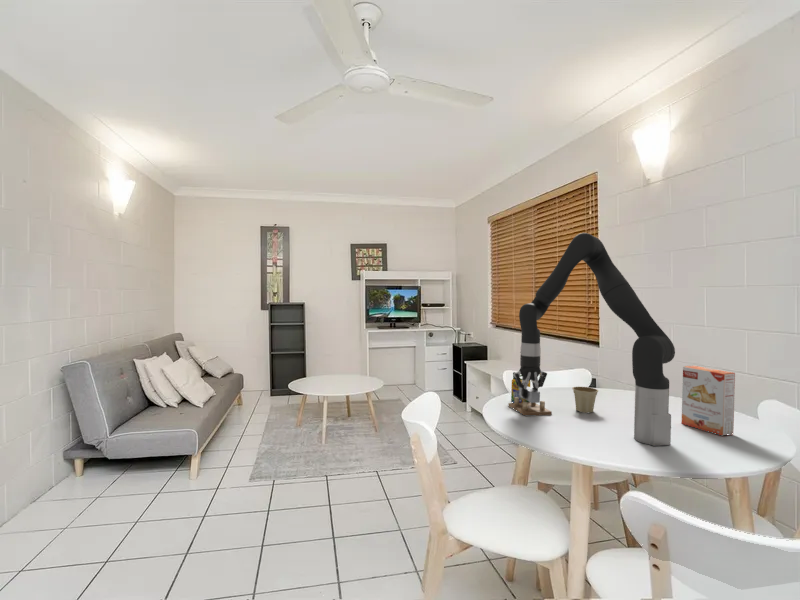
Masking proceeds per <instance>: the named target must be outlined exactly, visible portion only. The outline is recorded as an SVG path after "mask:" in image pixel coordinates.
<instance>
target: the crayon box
mask: <svg viewBox="0 0 800 600" xmlns="http://www.w3.org/2000/svg"><path fill="white" fill-rule="evenodd" d="M512 376H513V375H512ZM521 377H522V375H521V374H520V380H521V383H522V378H521ZM527 386H528V387H530V388H531V380H529V383H528V384H527ZM515 397H518V398H519V403H523V402H529V401H527V400H525V399H523V398H522V397H520V396H519V387H518V386H517V384H516V381H515V378H514V376H513V377H512V379H511V396H510V403H511V402H513V403H514V399H515Z"/></svg>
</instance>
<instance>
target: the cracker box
mask: <svg viewBox="0 0 800 600" xmlns="http://www.w3.org/2000/svg"><path fill="white" fill-rule="evenodd" d="M735 383H736V373H735V372H731V371H727V370H720V369H714V368H710V367H709V368H708V367H702V366H698V365H685V366H683V367H682V390H681V393H682V396H681V425H685V426H687V425H688V427H692V428H694V427H695V429H697V428H698V430H700V429H702V430H701V431H704V430H705V431H704V432H707V431H709V432H708V433H710V432H713V433H716V434H719V435H718V436H720V435H727V434H732V433H733V434H734V421H735V390H736V389H735V388H736V384H735ZM713 433H712V434H713ZM716 434H715V435H716ZM733 434H732V435H733ZM727 436H728V435H727Z"/></svg>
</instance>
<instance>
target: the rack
mask: <svg viewBox="0 0 800 600" xmlns="http://www.w3.org/2000/svg"><path fill="white" fill-rule="evenodd" d="M508 405H509V406H510V407H509V406H508V407H509V408H511V407H512V408H514V409H515V410H514V409H513V410H514V411H516V410H517V411H519V412H520V413H519V412H518V413H519V414H521V413H522V414H523V415H522V414H521V415H522V416H524V415H536V416H551V415H552V413H553V412H552V411H551V410H549V409H548V408H546V401H544V400H540V402H539V404H538V403H531V402H523V403H519V398H518V397H515V399H514V403H511V402H508ZM512 408H511V409H512ZM517 411H516V412H517Z"/></svg>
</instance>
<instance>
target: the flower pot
mask: <svg viewBox="0 0 800 600" xmlns="http://www.w3.org/2000/svg"><path fill="white" fill-rule="evenodd" d="M572 390H573V394H574V402H575V410H576V411H579V412H580V413H585V414H588V413H589V414H590V413H594V409H595V403H596V397H597V396H598V392H599V389H596V388H594V387H588V386H573V387H572Z"/></svg>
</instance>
